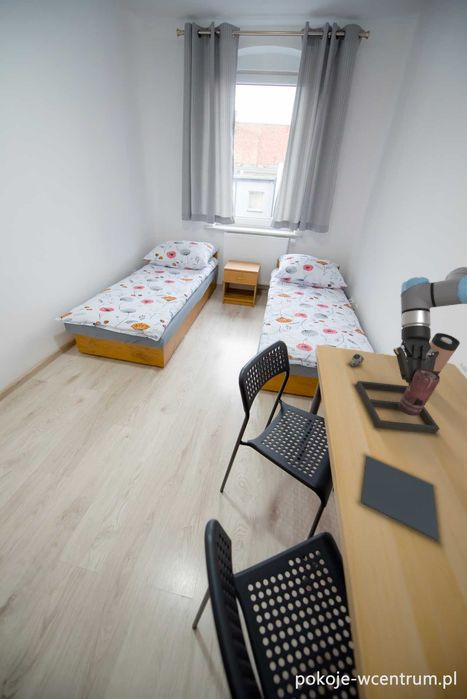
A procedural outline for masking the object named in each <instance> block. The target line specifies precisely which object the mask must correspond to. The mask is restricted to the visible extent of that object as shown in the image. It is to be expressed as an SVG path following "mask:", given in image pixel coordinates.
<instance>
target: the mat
mask: <svg viewBox="0 0 467 699" xmlns="http://www.w3.org/2000/svg"><path fill="white" fill-rule="evenodd" d="M365 459H366V460H365V468H364V478H363V486H362V496H361V504H362V505H364V506H367V507H369V508H371V509H373V510H375V511H377V512H379V513H381V514H382V515H385V516H387V517H389V518H391V519H393V520H395V521H397V522H399V523H400V524H403V525H405V526H406V527H409V528H411V529H413V530H415V531H417V532H418V533H421V534H423V535H425V536H426V537H429V538H431V539H433V540H434V541H436V542H437V541H439V531H438V522H437V514H436V504H435V494H434V486H433V484H431V483H429V482H427V481H424V480H422V479H420V478H417V477H415V476H413V475H411V474H408V473H406V472H404V471H403V470H400V469H397V468H396V467H393V466H391V465H388V464H386V463H384V462H382V461H380V460H377V459H375V458H373V457H370V456H368V455H367V456H366V458H365Z"/></svg>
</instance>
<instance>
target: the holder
mask: <svg viewBox="0 0 467 699" xmlns="http://www.w3.org/2000/svg"><path fill="white" fill-rule="evenodd" d="M407 387H408V385H403V384H394V383H384V382H383V383H382V382H374V381H373V382H372V381H366V380H357V382H356V384H355V388H356V391H357V392H358V394H359V397H360V398H361V401H362V402H363V405H364V407H365V409H366V411H367V413H368V415H369V417H370V420H371V421H372V424H373V426H374V428H376V429H385V430H392V431H393V430H395V431H405V432H415V433H424V434H434V435H435V434H437V432H439V430H440V429H441V428H440V427H439V426H438V423H436V422H435V420H434V419H433V417H432V416H431V414H430V413H429V410H427V408H426V407H425V406H424V407H423V409H422V410H421V412H420V414H419V416H420V417H421V419H422V420H423V422H424V423H425V424H421V423H410V422H402V421H401V422H400V421H390V420H384V419H383V420H381V418H380V417H379V414H378V412H377V411H376V409H375V408H380V409H391V410H400V408H399V406H398V403H399V401H394V400H393V401H392V400H384V399H372V398H370V397H369V395H368V393H367V391H366V389H367V390H375V391H384V392H385V391H386V392H394V393H404V392H405V390H406V389H407ZM400 411H401V410H400Z"/></svg>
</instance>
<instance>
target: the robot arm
mask: <svg viewBox="0 0 467 699" xmlns="http://www.w3.org/2000/svg"><path fill="white" fill-rule="evenodd" d="M400 293H401V294H400V308H401V310H400V312H401V314H400V315H401V316H400V318H401V320H400V321H401V322H400V323H401V329H400V333H401V338H400V339H401V340H402V341H401V343H400V345H399V346H398V347H395V348H393V350H392V351H393V353H394V354H395V357H396V360H397V364H398V369H399V373H400V377H401V380H402V381H405V382H406V383H407V384H408V385H409V384H410V383H411V381H412V379H413V376H414V374H415V372H416V371H417V370H419V369H420V368H424V369H429V370H431V371H434V366H435V361H436V358H437V356H438V355H439V352H438V351H434V350H433V349H431V345H430V342H431V338H432V337H431V335H432V334H431V327H430V326H431V309H432V308H439V307H448V306H457V305H467V267H466V266H460V267H457V268H455V269H453V270H451V271H450V272H449V273H448V274H447V275H446V277H445V279H444V280H440V281H434V282H430V280H429V278H427V277H424V276H419V277H417V276H415V277H411V278H408V279H406V280H404V281H403V282H402V284H401V290H400ZM426 354H427V358H426ZM425 360H426V362H425ZM413 405H420V406H423V401H421V400H419V399H418V398H417V399H416V401H415V402H414V404H413Z"/></svg>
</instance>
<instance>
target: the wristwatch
mask: <svg viewBox="0 0 467 699" xmlns="http://www.w3.org/2000/svg"><path fill="white" fill-rule="evenodd" d="M364 360H365V357H364V356H363V355H362V354H360V353H354V354H353V355H352V356H351V359H350V361H349V365H350V366H351V367H357V366H360V365H361V364H362V363H363V362H364Z"/></svg>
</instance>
